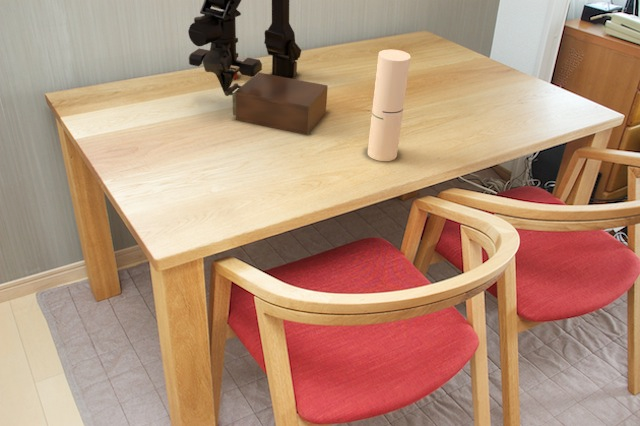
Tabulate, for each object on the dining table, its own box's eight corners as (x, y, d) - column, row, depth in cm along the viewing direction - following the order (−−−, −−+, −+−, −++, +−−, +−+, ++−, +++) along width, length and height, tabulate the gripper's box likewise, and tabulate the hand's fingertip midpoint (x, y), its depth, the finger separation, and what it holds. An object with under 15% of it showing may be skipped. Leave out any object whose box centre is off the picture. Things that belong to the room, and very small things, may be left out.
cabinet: (235, 119, 171) (235, 92, 166) (258, 98, 182) (259, 72, 178) (307, 134, 166) (308, 106, 162) (325, 112, 178) (327, 85, 173)
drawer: (218, 111, 172) (217, 90, 169) (240, 92, 183) (240, 72, 180) (299, 128, 166) (300, 107, 163) (317, 108, 177) (318, 87, 174)
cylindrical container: (395, 163, 156) (409, 62, 142) (365, 158, 157) (376, 58, 143) (398, 149, 162) (411, 51, 148) (369, 145, 163) (380, 47, 149)
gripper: (176, 39, 164) (180, 97, 172) (244, 52, 159) (244, 110, 168) (197, 26, 172) (200, 82, 181) (262, 38, 168) (262, 94, 176)
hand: (226, 92), depth 176 cm, fingers closed
